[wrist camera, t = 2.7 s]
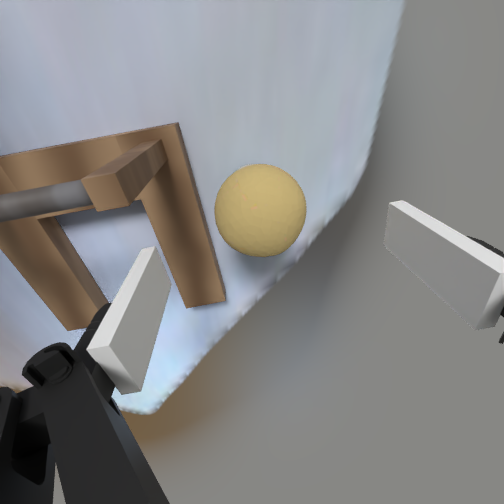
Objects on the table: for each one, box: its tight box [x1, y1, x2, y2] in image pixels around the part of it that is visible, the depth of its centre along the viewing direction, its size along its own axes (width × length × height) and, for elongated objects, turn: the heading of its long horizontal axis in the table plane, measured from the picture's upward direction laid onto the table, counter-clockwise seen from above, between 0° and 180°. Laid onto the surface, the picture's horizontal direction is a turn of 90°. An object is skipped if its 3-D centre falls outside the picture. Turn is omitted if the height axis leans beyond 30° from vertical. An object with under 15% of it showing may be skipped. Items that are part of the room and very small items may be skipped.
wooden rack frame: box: [0, 123, 226, 331], centre depth 20 cm, size 18×18×12 cm
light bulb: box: [215, 164, 306, 257], centre depth 20 cm, size 6×6×10 cm
